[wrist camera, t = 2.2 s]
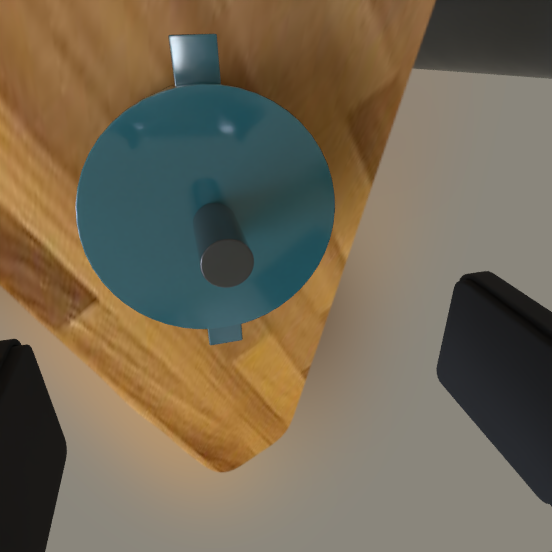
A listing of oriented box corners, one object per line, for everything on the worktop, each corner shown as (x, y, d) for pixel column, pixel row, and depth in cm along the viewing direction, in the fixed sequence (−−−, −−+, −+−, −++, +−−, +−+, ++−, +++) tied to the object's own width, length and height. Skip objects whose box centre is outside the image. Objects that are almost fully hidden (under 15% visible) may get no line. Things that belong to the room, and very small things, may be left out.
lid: (333, 75, 23) (387, 84, 18) (326, 302, 31) (363, 359, 25) (44, 90, 21) (0, 105, 15) (111, 336, 28) (98, 409, 22)
